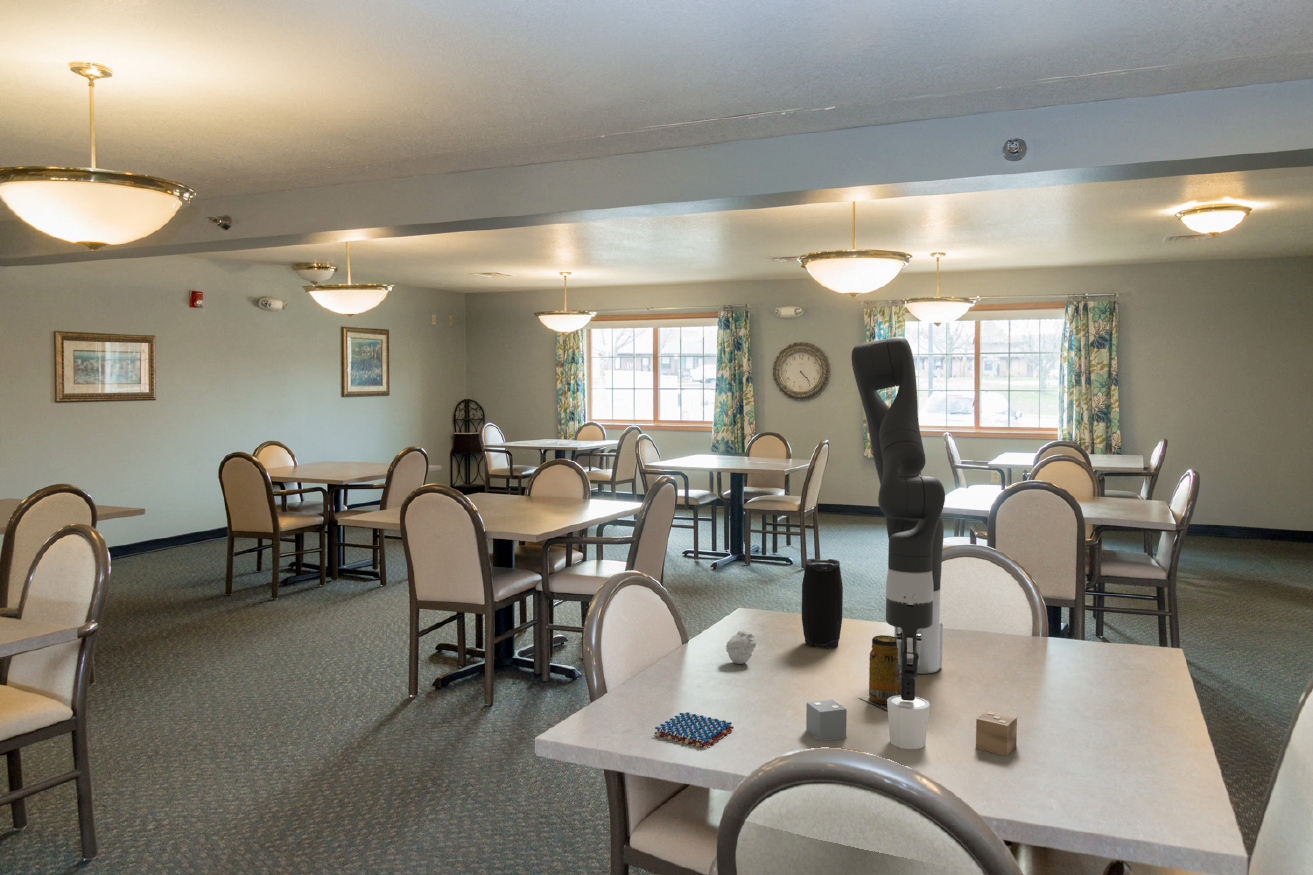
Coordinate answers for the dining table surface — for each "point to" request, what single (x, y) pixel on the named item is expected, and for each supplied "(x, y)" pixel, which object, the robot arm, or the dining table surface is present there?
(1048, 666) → the dining table surface
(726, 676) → the dining table surface
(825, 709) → the slate dotted block
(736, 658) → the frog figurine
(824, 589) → the portable speaker
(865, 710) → the dining table surface
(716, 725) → the woven mat
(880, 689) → the condiment
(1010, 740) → the walnut dotted block
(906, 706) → the shot glass
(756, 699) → the dining table surface
